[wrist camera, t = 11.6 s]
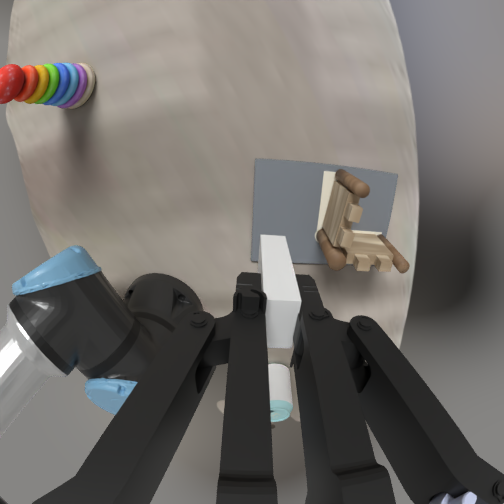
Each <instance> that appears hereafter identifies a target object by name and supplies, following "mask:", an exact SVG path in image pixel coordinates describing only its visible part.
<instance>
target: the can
mask: <svg viewBox="0 0 504 504" xmlns="http://www.w3.org/2000/svg"><path fill="white" fill-rule="evenodd" d="M268 371H269V391H270V412H271V422H277V421H282V420H285V419H287V418H288V417H289V416H290V412H291V411H292V409H293V404H292V393H291V382H290V371H289V369H288V368H287V367H286V366H284V365H281V364H276V363H273V364H268Z"/></svg>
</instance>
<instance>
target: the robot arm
mask: <svg viewBox="0 0 504 504" xmlns="http://www.w3.org/2000/svg"><path fill="white" fill-rule="evenodd" d="M101 270H102V269H101V267H98V266H97V265H96V263H95V262H94V261H93V259H92V258H91V256H90V255H89V254H88V252H87V251H86V250H85V249H84V248H83V247H81V246H78V245H74V246H70V247H68V248H67V249H65V250H63V251H62V252H60V253H59V254H57V255H55V256H54V257H52V258H51V259H49V260H47V261H46V262H44V263H43V264H41V265H40V266H38V267H37V268H35V269H34V270H33V271H31V272H30V273H28V274H27V275H25V276H24V277H22V278H21V279H19V280H18V281H16V282H15V283H14V284H13V285H12V290H13V294H14V295H16V297H15V298H14V299H13V300H12V301H11V302H10V303H9V304H8V306H7V323H6V325H5V326H4V327H3V328H2V329H1V330H0V438H1V437H2V435H3V434H4V432H5V431H6V430H7V429H8V427H9V426H10V425H11V423H12V422H13V421H14V419H15V418H16V417H17V416H18V415H19V413H20V412H21V411H22V410H23V408H24V407H25V406H26V405H27V403H28V402H29V401H30V400H31V399H32V397H33V396H34V395H35V394H36V393H37V391H38V390H39V389H40V388H41V387H42V386H43V384H44V383H45V382H46V381H47V380H48V379H49V378H50V377H52V376H60V377H61V376H62V377H66V376H68V375H69V374H70V372H71V371H72V370H73V369H74V368H75V367H77V369H78V370H79V371H80V372H81V373H83V374H84V375H85V376H86V377H87V378H88V381H87V382H86V383H85V393H86V394H87V396H88V398H89V399H90V400H91V401H92V402H93V403H94V404H96V405H97V406H99V407H100V408H102V409H104V410H106V411H107V412H110V413H112V414H114V415H115V416H114V418H113V420H112V421H111V422H110V424H109V425H108V427H107V428H106V430H105V431H104V433H103V434H102V436H101V437H100V439H99V441H98V442H97V443H96V445H95V446H94V448H93V449H92V451H91V452H90V454H89V456H88V457H87V459H86V460H85V462H84V463H83V465H82V466H81V468H80V469H79V471H78V472H77V474H76V476H74V477H73V478H71V479H70V480H68V481H67V482H65V483H64V484H62V485H61V486H59V487H57V488H56V489H54V490H53V491H51V492H49V493H48V494H46V495H44V496H43V497H41V498H39V499H37V500H36V501H34V502H33V503H32V504H150V502H151V500H152V498H153V496H154V494H155V492H156V490H157V488H158V486H159V484H160V482H161V480H162V478H163V476H164V474H165V472H166V470H167V468H168V466H169V464H170V462H171V460H172V458H173V456H174V454H175V452H176V450H177V448H178V446H179V444H180V442H181V440H182V438H183V436H184V434H185V432H186V429H187V427H188V426H189V423H190V421H191V419H192V417H193V415H194V413H195V411H196V409H197V407H198V405H199V402H200V400H201V398H202V396H203V394H204V392H205V390H206V388H207V386H208V384H209V381H210V379H211V377H212V375H213V373H214V371H215V369H216V365H220V364H226V363H228V372H227V384H226V396H225V408H224V421H223V434H222V446H221V447H222V448H221V461H220V473H219V479H218V486H217V500H216V504H278V503H277V487H276V482H275V479H274V476H273V458H272V435H271V412H270V391H269V371H268V352H267V348H292V343H293V342H294V351H293V355H292V359H291V363H290V367H292V366H293V364H294V372H295V379H296V387H297V395H298V403H299V412H300V420H301V429H302V438H303V447H304V456H305V467H306V476H307V488H308V492H307V497H306V503H305V504H396V502H395V497H394V493H393V488H392V484H391V480H390V476H389V473H388V470H387V469H386V468H385V467H384V466H382V465H380V464H378V463H377V462H376V460H375V457H374V452H373V448H372V445H371V441H370V437H369V433H368V429H367V425H366V422H367V424H368V425H369V427H370V429H371V431H372V432H373V434H374V436H375V438H376V440H377V441H378V443H379V445H380V447H381V448H382V450H383V452H384V454H385V455H386V457H387V459H388V461H389V462H390V464H391V466H392V468H393V470H394V471H395V473H396V475H397V477H398V479H399V480H400V482H401V484H402V486H403V488H404V489H405V491H406V493H407V494H408V496H409V497H410V499H411V500H412V501H413V502H414V504H503V503H504V474H502V473H501V472H500V471H498V470H497V469H495V468H494V467H493V466H491V465H490V464H488V463H487V462H486V461H484V460H483V459H481V458H480V457H479V456H477V454H476V453H475V452H474V450H473V448H472V447H471V445H470V444H469V443H468V441H467V440H466V438H465V437H464V435H463V434H462V432H461V431H460V429H459V428H458V427H457V425H456V424H455V422H454V421H453V420H452V418H451V417H450V415H449V414H448V413H447V411H446V410H445V409H444V407H443V406H442V405H441V403H440V402H439V400H438V399H437V398H436V396H435V395H434V394H433V392H432V391H431V390H430V388H429V387H428V386H427V384H426V383H425V382H424V381H423V379H422V378H421V377H420V376H419V374H418V373H417V372H416V370H415V369H414V368H413V366H412V365H411V364H410V363H409V361H408V360H407V359H406V358H405V357H404V355H403V354H402V353H401V351H400V350H399V349H398V348H397V347H396V345H395V344H394V343H393V342H392V340H391V339H390V338H389V337H388V336H387V334H386V333H385V332H384V331H383V330H382V328H381V327H380V326H379V325H378V324H377V322H375V321H374V320H373V319H372V318H369V317H367V316H362V315H361V316H355V317H353V318H352V319H351V320H350V323H348V322H344V321H340V320H336V319H334V318H333V316H332V314H331V312H330V311H329V310H327V309H326V308H324V306H323V303H322V301H321V298H320V295H319V292H318V289H317V286H316V283H315V280H314V279H313V278H312V277H311V276H310V275H299V274H295V272H294V268H293V265H292V261H291V257H290V253H289V249H288V245H287V241H286V237H285V236H277V235H260V247H259V260H258V272H257V273H247V272H241V274H240V275H239V276H238V277H237V284H236V292H235V294H234V296H233V311H232V312H231V313H230V314H229V315H227V316H224V317H220V318H214V317H213V316H212V315H211V314H210V313H207V312H205V311H203V310H202V305H201V302H200V300H199V298H198V297H197V295H196V294H195V293H194V291H193V290H192V289H191V288H190V287H189V286H187V285H186V284H185V283H183V282H182V281H180V280H178V279H176V278H174V277H172V276H169V275H165V274H158V273H152V274H146V275H143V276H140V277H139V278H137V279H136V280H135V281H134V282H133V283H132V284H131V285H130V287H129V288H128V290H127V292H126V294H125V297H124V302H123V300H122V299H121V298H120V296H119V295H118V294H117V292H116V291H115V290H114V288H113V287H112V286H111V284H110V283H109V281H108V280H107V279H106V277H105V276H104V274H103V273H102V271H101ZM366 362H367V363H366ZM365 420H366V422H365ZM0 504H8V503H7V502H6V501H5V500H3V498H1V497H0Z"/></svg>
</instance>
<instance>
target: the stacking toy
mask: <svg viewBox="0 0 504 504" xmlns="http://www.w3.org/2000/svg"><path fill="white" fill-rule="evenodd" d="M94 84H95V75H94V71H93V69H92V68H91V67H90V66H89V65H88V64H85V63H77V64H70V63H55V64H45V65H37V66H31V65H28V66H24V67H23V68H20V67H19V66H18V65H15V64H9V65H6V66H4V67H2V68H1V69H0V104H4V103H8V102H10V101H11V100H13V99H14V100H16V101H18V102H22V101H24V102H26V103H28V104H32V103H35V104H44V105H52V106H57V107H59V108H68V109H74V108H77V107H79V106H81V105H82V104H84V103H85V102H86V101H87V100H88V98H89V97H90V95H91V93H92V91H93V88H94Z"/></svg>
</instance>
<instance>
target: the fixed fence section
mask: <svg viewBox="0 0 504 504" xmlns="http://www.w3.org/2000/svg"><path fill="white" fill-rule="evenodd" d="M354 234H355V236H354V239H353V242H352V245H351V248H348V247H345V248H341V247H335V246H333V245H332V243H331V241H330V239H329V237H328V236H327V234H326V232H325V230H324V229H320V230H319V231H318V232H317V234H316V238H317V241H318V243H319V245H320V247H321V249H322V252H323V254H324V256H325V258H326V260H327V263H328V265H329V267H330V268H331V269H332V270H335V271H337V270H341V269H342V268H344V266H345V265H346V264H353V265H354V267H355V269H356V270H357V271H369V270H370V266H371V265H375V267H376V268H377V269H378V271H380V272H390V271H391V267H392V264H393V265H394V266H395V267H396V268H397V270H398V271H399V272H400V273H405V272H406V271H407V270H408V269H409V263H408V262H407V261H406V260H405V259H404V257H403V256H402V255H401V254H400V253H399V252H398V251H397V250H396V249H395V247H394V246H393V245H392V244H391V243H390V242H389V241H388V240H387V239H386V238H385V237H384V236H383V235H382V234H379V235H377V236H376V235H375V234H363V233H354Z"/></svg>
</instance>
